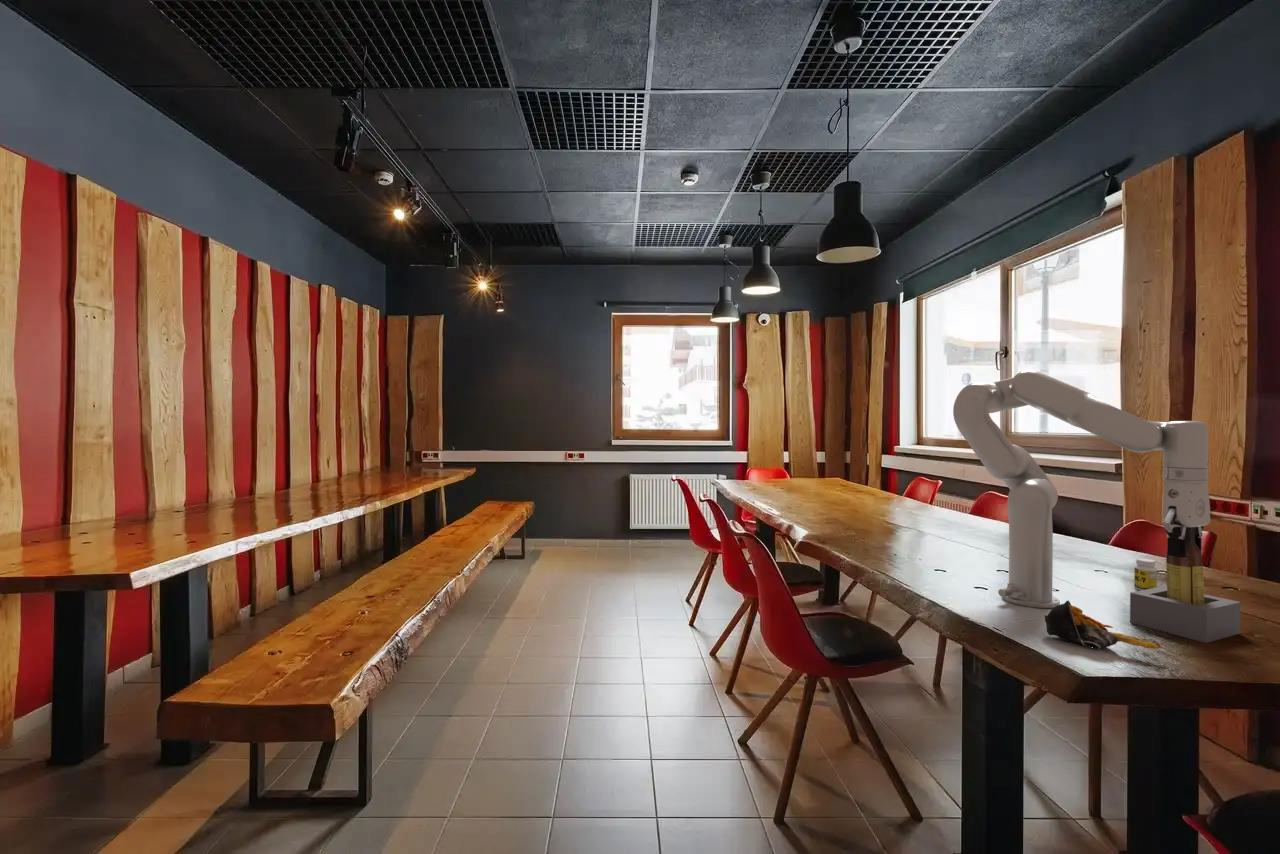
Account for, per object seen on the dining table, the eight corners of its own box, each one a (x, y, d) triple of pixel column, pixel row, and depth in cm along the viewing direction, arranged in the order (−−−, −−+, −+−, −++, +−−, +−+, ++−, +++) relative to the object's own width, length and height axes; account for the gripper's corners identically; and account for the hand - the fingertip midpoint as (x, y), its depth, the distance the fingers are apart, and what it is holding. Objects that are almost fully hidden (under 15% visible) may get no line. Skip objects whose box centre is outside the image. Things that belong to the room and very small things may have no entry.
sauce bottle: (1197, 607, 137) (1198, 521, 137) (1209, 615, 131) (1211, 525, 131) (1160, 604, 139) (1162, 519, 139) (1171, 611, 134) (1173, 523, 134)
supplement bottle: (1129, 587, 168) (1129, 558, 168) (1145, 587, 168) (1145, 557, 168) (1145, 592, 163) (1145, 562, 163) (1161, 592, 164) (1161, 561, 164)
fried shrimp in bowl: (1042, 607, 135) (1140, 595, 125) (1059, 659, 130) (1163, 651, 120) (1034, 601, 129) (1137, 587, 119) (1052, 655, 124) (1161, 645, 114)
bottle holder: (1206, 643, 126) (1206, 610, 126) (1130, 622, 139) (1130, 592, 139) (1240, 633, 132) (1240, 602, 132) (1163, 614, 145) (1164, 585, 144)
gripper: (1184, 478, 128) (1184, 562, 128) (1226, 475, 135) (1225, 555, 135) (1143, 475, 135) (1143, 555, 135) (1185, 472, 142) (1184, 548, 142)
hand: (1184, 554), depth 135 cm, fingers closed on sauce bottle, 5 cm apart
